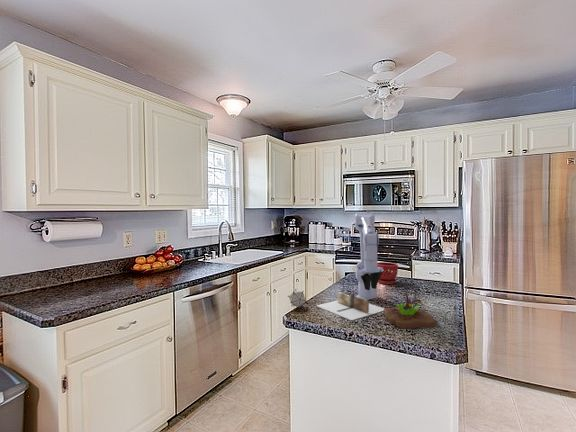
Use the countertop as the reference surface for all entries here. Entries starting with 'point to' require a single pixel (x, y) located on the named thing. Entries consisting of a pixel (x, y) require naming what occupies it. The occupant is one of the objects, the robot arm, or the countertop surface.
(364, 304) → the brown wooden board
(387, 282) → the plant pot
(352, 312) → the card
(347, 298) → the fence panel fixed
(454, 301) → the countertop surface
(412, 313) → the plant
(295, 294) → the game die
